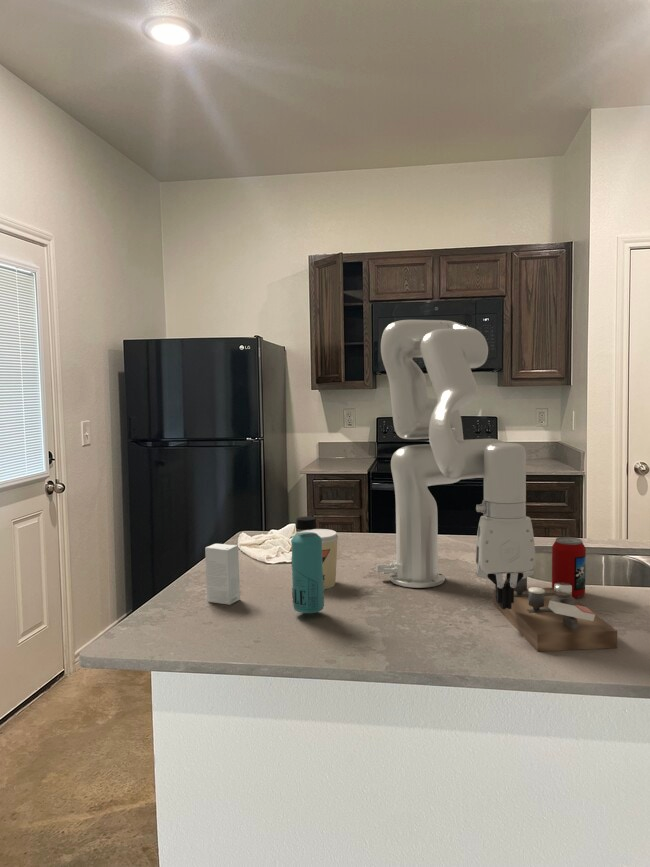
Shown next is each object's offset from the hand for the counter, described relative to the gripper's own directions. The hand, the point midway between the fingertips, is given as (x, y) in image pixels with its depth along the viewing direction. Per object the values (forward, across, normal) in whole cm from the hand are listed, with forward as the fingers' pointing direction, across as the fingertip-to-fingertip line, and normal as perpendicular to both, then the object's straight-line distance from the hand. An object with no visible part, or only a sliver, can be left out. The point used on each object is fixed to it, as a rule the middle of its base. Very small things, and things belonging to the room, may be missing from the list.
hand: (504, 606), depth 124 cm
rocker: (-1, +9, -8) cm, 12 cm away
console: (+4, +9, +1) cm, 10 cm away
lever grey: (+1, +6, +9) cm, 11 cm away
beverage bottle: (+4, -36, +11) cm, 38 cm away
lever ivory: (+1, +6, 0) cm, 6 cm away
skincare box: (+4, -54, +22) cm, 59 cm away
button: (0, +13, +5) cm, 14 cm away
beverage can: (+4, +20, +17) cm, 26 cm away
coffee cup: (+4, -34, +31) cm, 46 cm away
